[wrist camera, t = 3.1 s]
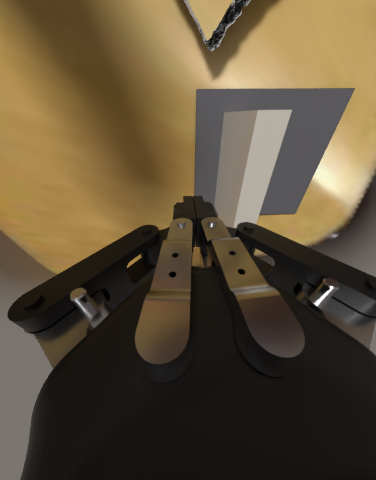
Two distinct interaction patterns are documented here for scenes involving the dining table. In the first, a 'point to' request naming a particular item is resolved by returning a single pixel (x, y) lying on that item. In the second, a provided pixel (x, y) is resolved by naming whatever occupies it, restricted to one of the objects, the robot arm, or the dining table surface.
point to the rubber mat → (293, 145)
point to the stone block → (247, 162)
